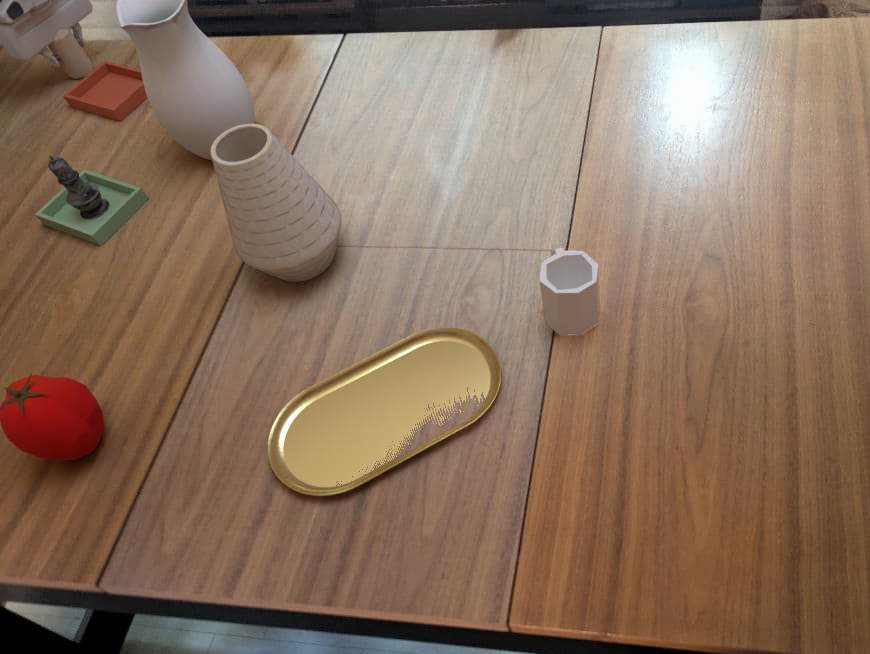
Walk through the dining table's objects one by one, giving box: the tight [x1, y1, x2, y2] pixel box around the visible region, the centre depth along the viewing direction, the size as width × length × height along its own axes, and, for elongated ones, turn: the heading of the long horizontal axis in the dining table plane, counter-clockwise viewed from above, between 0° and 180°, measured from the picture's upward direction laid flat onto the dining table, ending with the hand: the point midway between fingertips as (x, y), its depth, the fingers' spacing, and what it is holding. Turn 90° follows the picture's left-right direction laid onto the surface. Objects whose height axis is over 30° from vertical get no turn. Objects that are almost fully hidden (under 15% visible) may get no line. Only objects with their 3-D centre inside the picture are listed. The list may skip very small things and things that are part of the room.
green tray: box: [34, 169, 149, 247], centre depth 128 cm, size 15×13×3 cm
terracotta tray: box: [62, 60, 148, 122], centre depth 147 cm, size 15×13×3 cm
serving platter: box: [267, 326, 503, 497], centre depth 101 cm, size 19×35×2 cm, turn 120°
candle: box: [47, 29, 95, 80], centre depth 149 cm, size 6×6×10 cm
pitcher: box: [115, 0, 256, 161], centre depth 126 cm, size 24×17×28 cm
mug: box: [539, 247, 601, 337], centre depth 104 cm, size 12×9×10 cm
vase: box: [211, 123, 342, 283], centre depth 109 cm, size 18×17×23 cm
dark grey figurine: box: [47, 155, 109, 220], centre depth 124 cm, size 6×6×12 cm
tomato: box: [0, 372, 105, 461], centre depth 98 cm, size 12×12×13 cm
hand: (70, 55), depth 151 cm, fingers closed on candle, 5 cm apart
